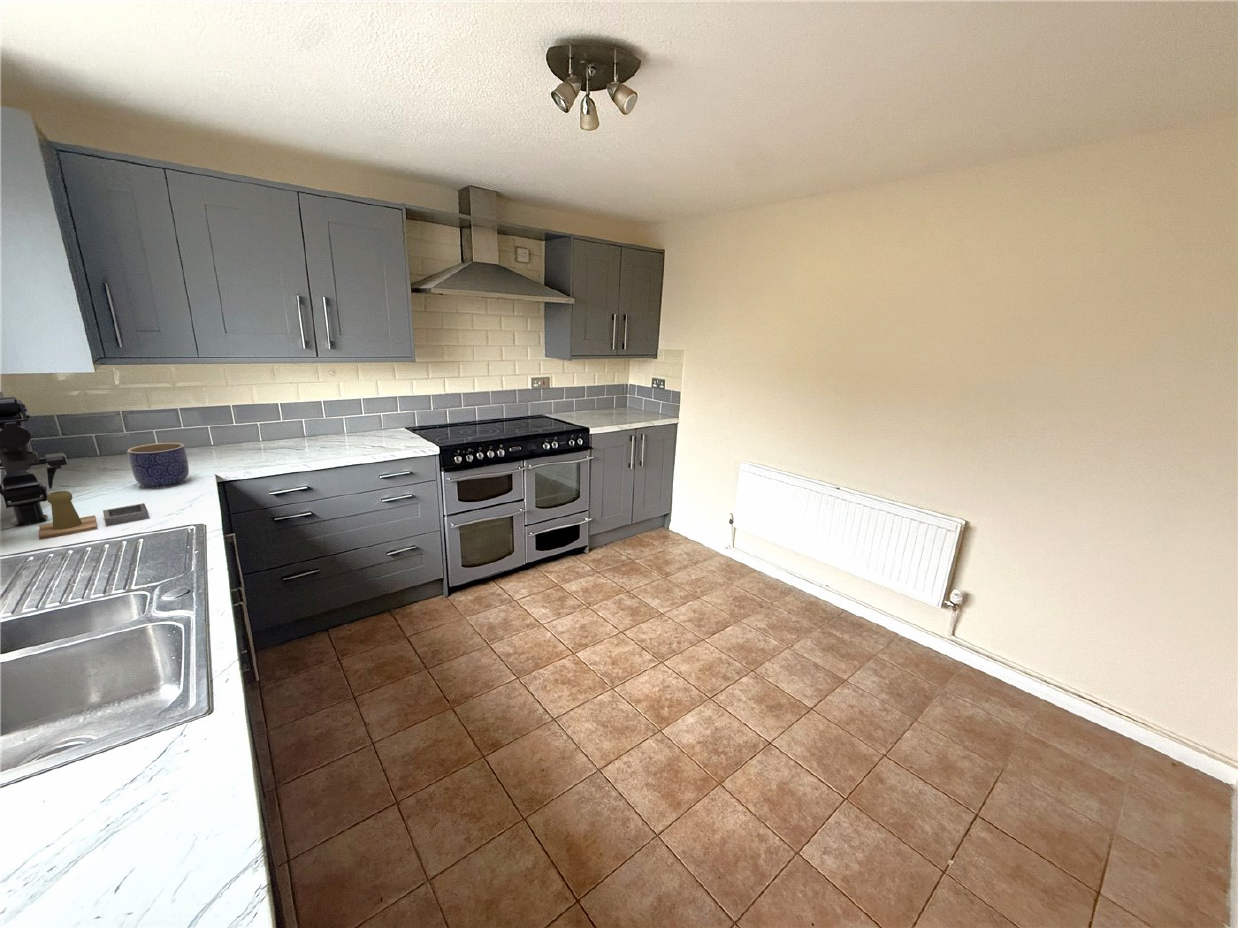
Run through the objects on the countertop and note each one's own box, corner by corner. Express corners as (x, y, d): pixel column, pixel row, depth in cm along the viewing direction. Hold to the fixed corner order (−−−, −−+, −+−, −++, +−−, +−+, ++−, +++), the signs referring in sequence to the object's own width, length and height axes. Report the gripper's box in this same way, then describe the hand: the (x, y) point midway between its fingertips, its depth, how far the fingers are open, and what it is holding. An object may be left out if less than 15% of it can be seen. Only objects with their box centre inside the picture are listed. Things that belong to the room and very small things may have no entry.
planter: (126, 492, 184) (117, 454, 180) (148, 479, 199) (139, 443, 195) (182, 488, 190) (173, 451, 186) (198, 476, 205) (191, 441, 201)
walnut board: (40, 527, 153) (39, 524, 152) (95, 518, 161) (95, 515, 161) (39, 540, 145) (38, 536, 145) (97, 529, 153) (96, 526, 153)
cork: (47, 530, 149) (37, 496, 146) (62, 522, 155) (53, 489, 152) (72, 528, 151) (63, 494, 148) (87, 521, 156) (78, 488, 153)
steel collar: (104, 517, 162) (102, 510, 161) (146, 509, 169) (144, 503, 168) (106, 526, 155) (104, 519, 155) (149, 518, 163) (147, 511, 162)
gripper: (-46, 451, 130) (-26, 506, 135) (59, 441, 144) (74, 491, 148) (-40, 443, 137) (-22, 496, 142) (59, 434, 151) (73, 482, 155)
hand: (27, 491), depth 146 cm, fingers open, 9 cm apart
